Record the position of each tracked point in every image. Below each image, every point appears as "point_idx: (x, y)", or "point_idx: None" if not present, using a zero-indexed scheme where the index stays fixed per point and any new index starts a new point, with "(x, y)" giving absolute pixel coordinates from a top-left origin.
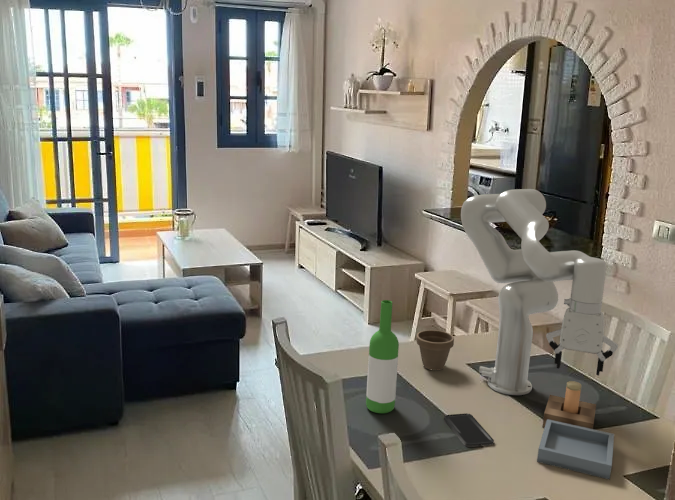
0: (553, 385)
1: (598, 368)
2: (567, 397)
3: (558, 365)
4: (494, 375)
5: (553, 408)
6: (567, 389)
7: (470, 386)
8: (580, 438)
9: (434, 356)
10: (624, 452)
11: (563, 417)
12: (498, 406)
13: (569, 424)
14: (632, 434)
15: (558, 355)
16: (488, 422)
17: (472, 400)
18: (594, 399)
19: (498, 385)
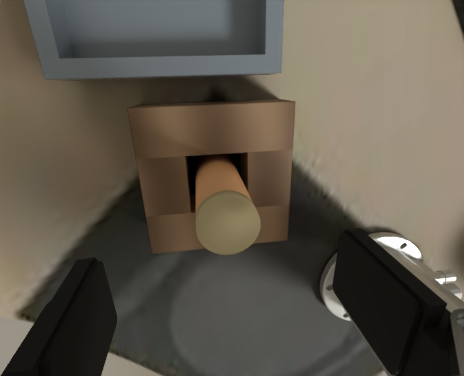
0: (273, 329)
1: (65, 296)
2: (238, 180)
3: (360, 239)
4: (428, 272)
5: (269, 154)
6: (248, 196)
7: (455, 227)
8: (162, 56)
9: None
10: (24, 61)
11: (231, 104)
12: (394, 160)
13: (205, 70)
14: (42, 193)
15: (430, 293)
16: (425, 44)
17: (457, 157)
18: (178, 318)
19: (401, 252)
